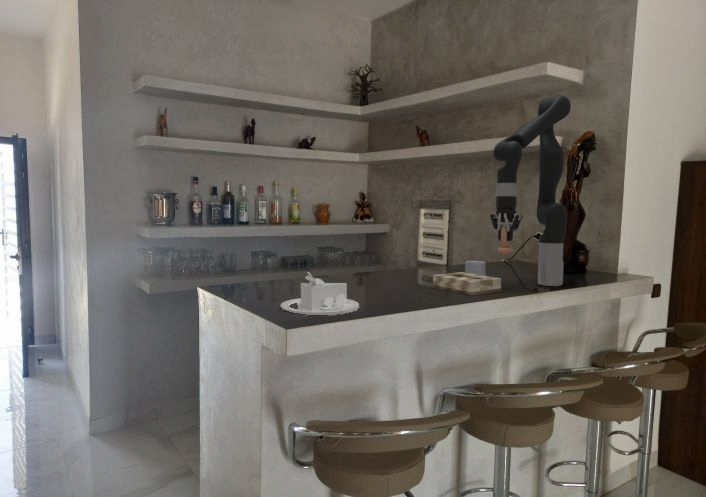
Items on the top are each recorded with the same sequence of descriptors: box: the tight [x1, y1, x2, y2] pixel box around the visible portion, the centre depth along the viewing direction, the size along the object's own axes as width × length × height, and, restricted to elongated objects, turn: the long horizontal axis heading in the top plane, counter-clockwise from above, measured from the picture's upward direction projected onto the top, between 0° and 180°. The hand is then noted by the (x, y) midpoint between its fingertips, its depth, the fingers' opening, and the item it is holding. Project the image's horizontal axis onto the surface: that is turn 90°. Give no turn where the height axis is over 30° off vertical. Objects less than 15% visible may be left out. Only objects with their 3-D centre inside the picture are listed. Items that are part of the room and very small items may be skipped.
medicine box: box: [464, 260, 487, 276], centre depth 217 cm, size 8×4×9 cm, turn 65°
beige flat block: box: [432, 271, 502, 297], centre depth 197 cm, size 20×16×5 cm
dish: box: [280, 271, 360, 316], centre depth 162 cm, size 25×25×11 cm
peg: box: [497, 225, 513, 254], centre depth 195 cm, size 5×5×10 cm
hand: (505, 240), depth 195 cm, fingers closed on peg, 3 cm apart
